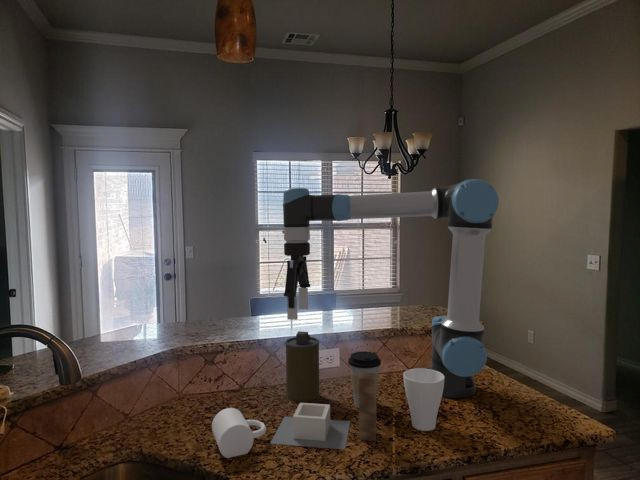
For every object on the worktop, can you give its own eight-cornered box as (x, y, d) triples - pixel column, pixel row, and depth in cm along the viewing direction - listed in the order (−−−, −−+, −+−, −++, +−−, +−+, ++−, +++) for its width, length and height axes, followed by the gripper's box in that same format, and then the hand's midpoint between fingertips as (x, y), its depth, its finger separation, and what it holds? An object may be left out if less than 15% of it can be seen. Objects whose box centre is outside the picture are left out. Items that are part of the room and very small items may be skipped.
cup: (394, 423, 115) (394, 373, 115) (422, 412, 121) (422, 365, 120) (424, 440, 107) (425, 386, 106) (453, 428, 112) (453, 377, 112)
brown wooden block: (376, 435, 109) (376, 373, 108) (375, 443, 105) (375, 379, 104) (360, 434, 110) (360, 372, 109) (359, 442, 106) (358, 378, 105)
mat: (350, 424, 115) (350, 421, 115) (344, 452, 101) (344, 449, 101) (284, 419, 118) (284, 416, 118) (270, 446, 104) (270, 443, 104)
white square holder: (330, 425, 113) (330, 404, 113) (325, 441, 105) (325, 418, 105) (300, 423, 114) (299, 402, 114) (293, 438, 106) (292, 416, 106)
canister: (316, 406, 126) (315, 338, 125) (281, 403, 128) (280, 336, 127) (323, 391, 137) (322, 328, 136) (291, 388, 139) (290, 327, 138)
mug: (219, 463, 98) (218, 429, 97) (212, 442, 107) (211, 410, 106) (270, 451, 102) (270, 418, 102) (259, 432, 112) (258, 401, 111)
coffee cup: (365, 417, 119) (365, 363, 118) (341, 406, 126) (341, 355, 125) (387, 407, 125) (387, 355, 124) (363, 397, 132) (363, 348, 131)
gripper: (294, 239, 139) (296, 304, 141) (271, 244, 115) (273, 324, 116) (317, 239, 138) (318, 305, 139) (299, 244, 114) (300, 324, 115)
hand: (298, 313), depth 128 cm, fingers open, 13 cm apart
